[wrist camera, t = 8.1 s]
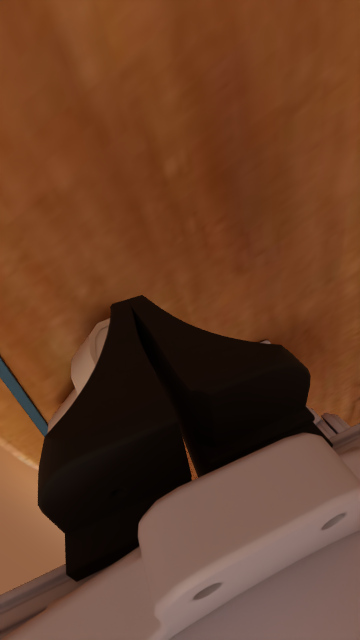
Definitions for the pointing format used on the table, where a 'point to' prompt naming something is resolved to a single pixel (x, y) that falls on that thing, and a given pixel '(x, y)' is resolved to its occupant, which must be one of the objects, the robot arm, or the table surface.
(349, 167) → the table surface
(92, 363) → the spotlight
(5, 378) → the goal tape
